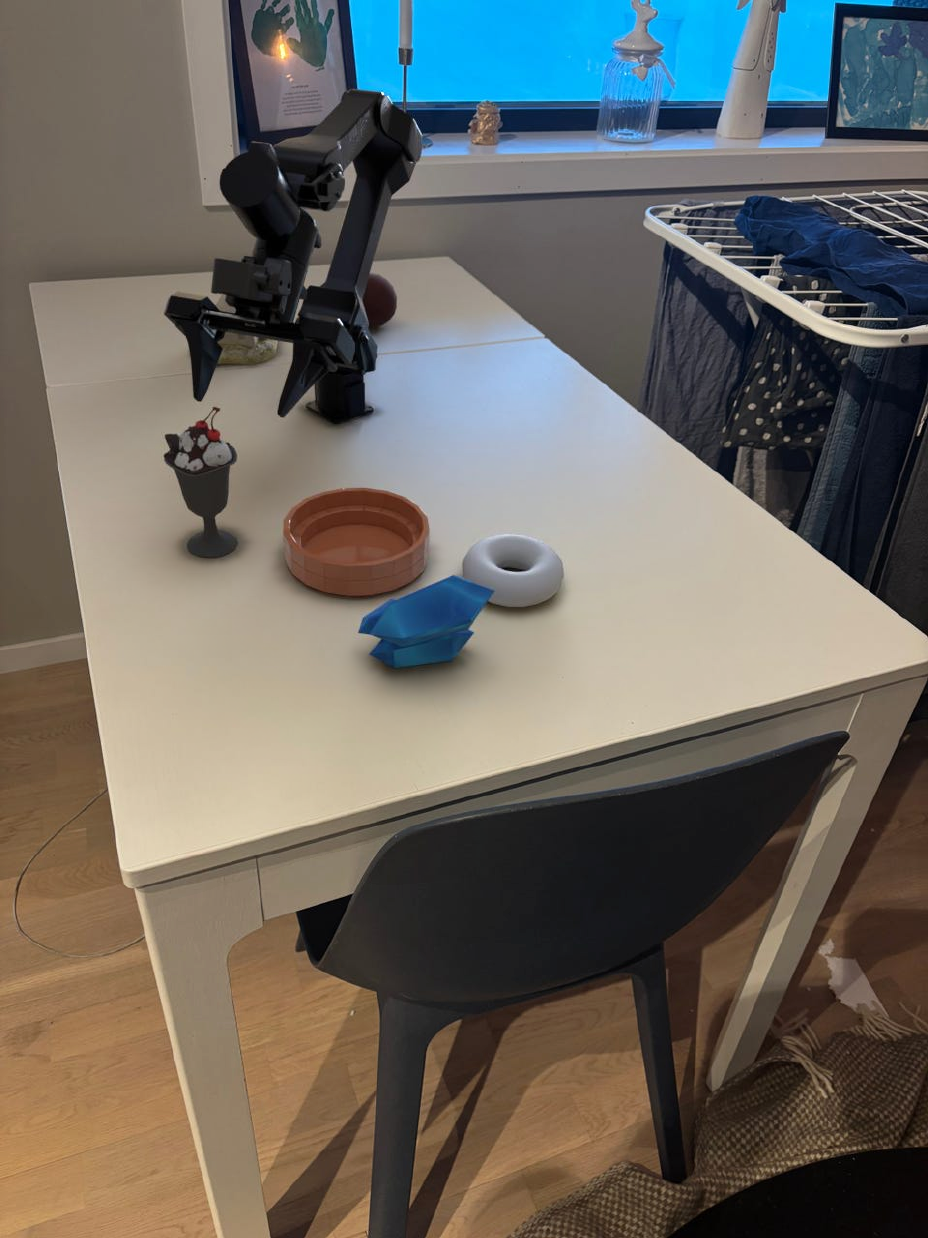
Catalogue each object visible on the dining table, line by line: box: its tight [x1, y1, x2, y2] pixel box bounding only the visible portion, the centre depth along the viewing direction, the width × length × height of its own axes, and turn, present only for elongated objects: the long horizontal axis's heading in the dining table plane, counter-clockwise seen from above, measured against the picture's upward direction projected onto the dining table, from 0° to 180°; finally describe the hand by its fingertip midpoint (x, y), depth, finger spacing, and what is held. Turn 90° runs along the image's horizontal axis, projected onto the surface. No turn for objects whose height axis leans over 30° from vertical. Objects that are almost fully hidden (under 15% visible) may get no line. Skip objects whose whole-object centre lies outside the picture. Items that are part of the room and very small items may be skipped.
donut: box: [461, 533, 565, 608], centre depth 91 cm, size 10×4×10 cm
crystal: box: [357, 574, 494, 669], centre depth 80 cm, size 7×9×12 cm
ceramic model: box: [215, 294, 278, 365], centre depth 132 cm, size 14×11×10 cm
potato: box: [362, 272, 398, 328], centre depth 142 cm, size 8×9×8 cm
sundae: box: [163, 406, 238, 559], centre depth 90 cm, size 7×7×15 cm
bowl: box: [282, 487, 431, 597], centre depth 93 cm, size 14×14×4 cm
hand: (238, 407), depth 94 cm, fingers open, 9 cm apart
